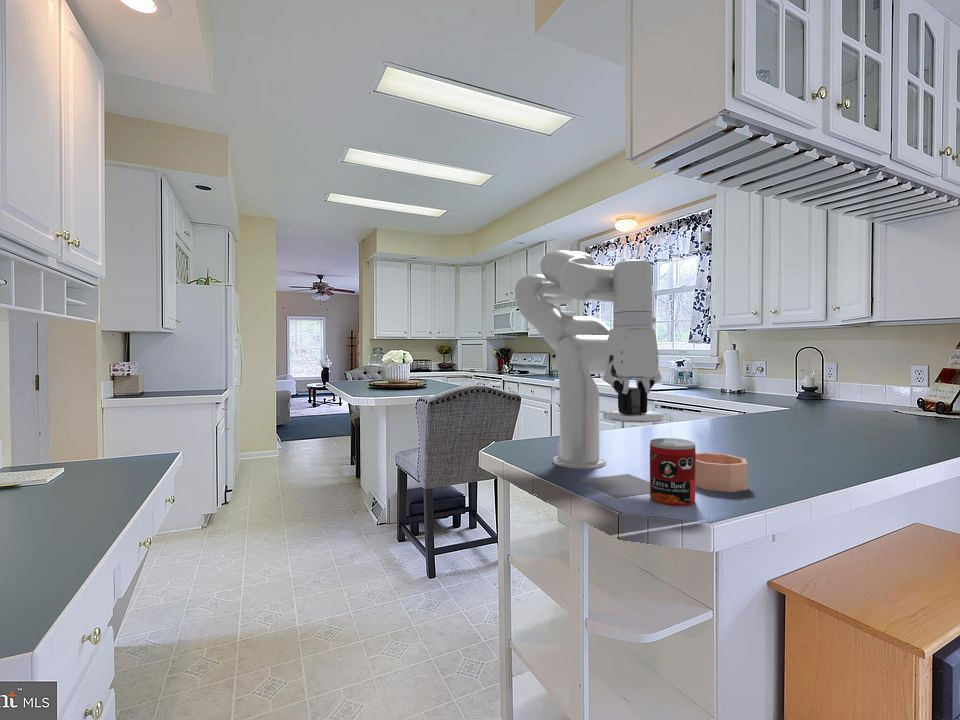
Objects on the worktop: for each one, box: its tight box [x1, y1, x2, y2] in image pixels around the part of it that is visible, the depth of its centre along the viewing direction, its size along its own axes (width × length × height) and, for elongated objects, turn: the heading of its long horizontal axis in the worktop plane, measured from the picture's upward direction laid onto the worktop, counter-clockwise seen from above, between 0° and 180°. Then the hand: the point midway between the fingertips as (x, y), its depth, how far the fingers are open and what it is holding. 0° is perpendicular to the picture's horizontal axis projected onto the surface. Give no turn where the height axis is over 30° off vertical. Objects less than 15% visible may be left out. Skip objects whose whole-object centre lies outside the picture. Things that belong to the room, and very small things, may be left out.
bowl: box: [695, 452, 749, 493], centre depth 95 cm, size 11×11×6 cm
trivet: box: [577, 473, 650, 499], centre depth 94 cm, size 13×13×1 cm
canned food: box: [649, 437, 697, 507], centre depth 85 cm, size 8×8×11 cm
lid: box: [602, 387, 665, 423], centre depth 94 cm, size 12×12×6 cm
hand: (632, 411), depth 94 cm, fingers closed on lid, 3 cm apart
